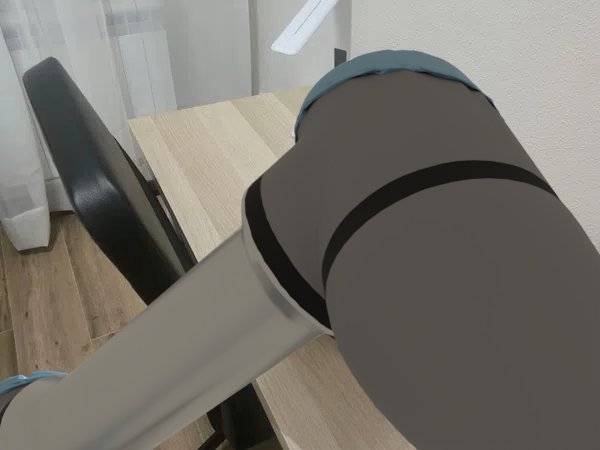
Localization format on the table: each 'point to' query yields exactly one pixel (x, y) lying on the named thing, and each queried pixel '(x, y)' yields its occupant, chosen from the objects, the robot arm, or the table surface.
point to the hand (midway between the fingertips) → (406, 283)
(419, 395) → the robot arm
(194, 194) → the table surface
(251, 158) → the table surface
